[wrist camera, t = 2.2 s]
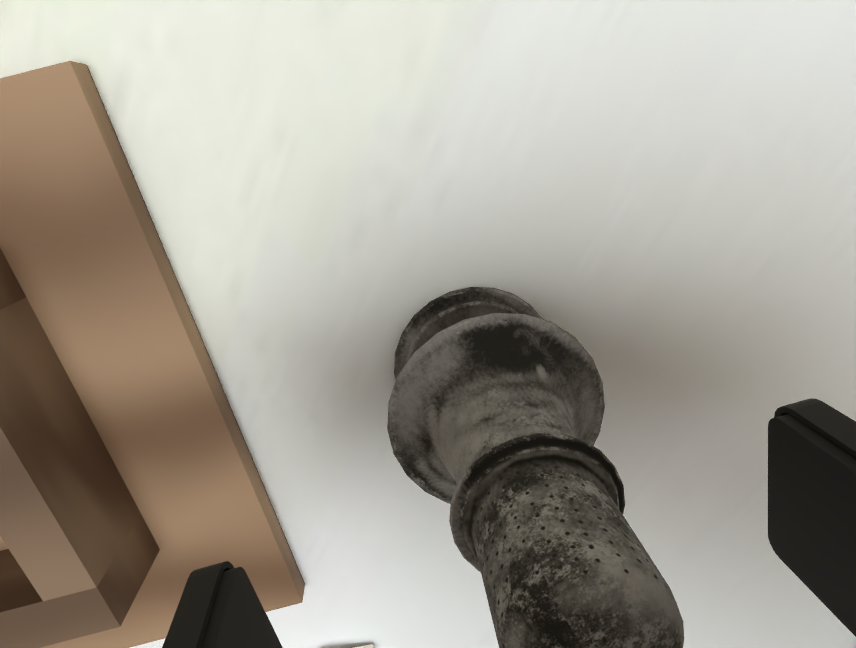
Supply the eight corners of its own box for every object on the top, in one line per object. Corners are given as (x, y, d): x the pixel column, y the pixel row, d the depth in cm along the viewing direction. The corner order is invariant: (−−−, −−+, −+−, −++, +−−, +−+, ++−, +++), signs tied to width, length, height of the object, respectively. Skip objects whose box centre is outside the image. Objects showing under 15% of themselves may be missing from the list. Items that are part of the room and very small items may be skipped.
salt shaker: (448, 471, 19) (554, 963, 8) (348, 345, 17) (297, 757, 6) (592, 381, 18) (936, 778, 7) (504, 240, 16) (786, 477, 5)
